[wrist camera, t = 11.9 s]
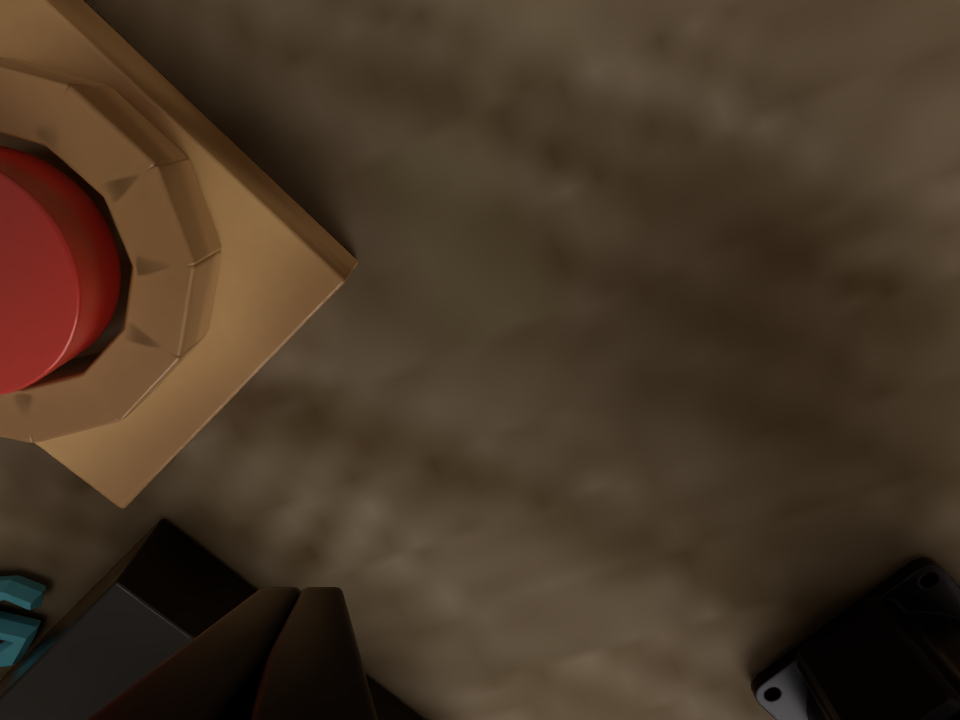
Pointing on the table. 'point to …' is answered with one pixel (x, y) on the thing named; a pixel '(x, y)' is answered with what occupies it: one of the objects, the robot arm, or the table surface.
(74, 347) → the button
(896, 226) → the table surface
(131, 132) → the button block
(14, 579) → the nameplate
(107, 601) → the dial console
